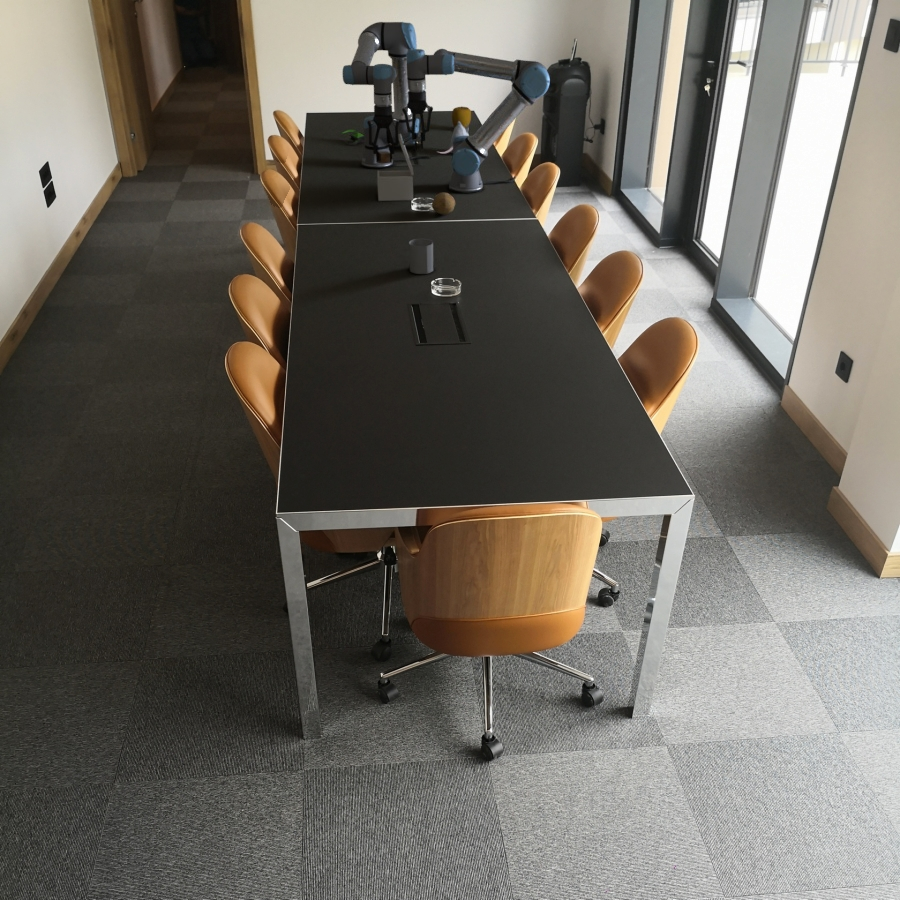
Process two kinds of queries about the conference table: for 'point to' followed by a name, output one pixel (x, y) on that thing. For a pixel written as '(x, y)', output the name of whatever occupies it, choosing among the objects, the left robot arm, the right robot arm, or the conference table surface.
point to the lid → (406, 150)
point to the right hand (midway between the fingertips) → (419, 148)
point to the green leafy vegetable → (354, 137)
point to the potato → (443, 203)
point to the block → (383, 157)
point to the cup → (421, 256)
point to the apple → (461, 116)
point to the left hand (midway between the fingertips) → (384, 161)
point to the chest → (395, 185)
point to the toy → (457, 131)
